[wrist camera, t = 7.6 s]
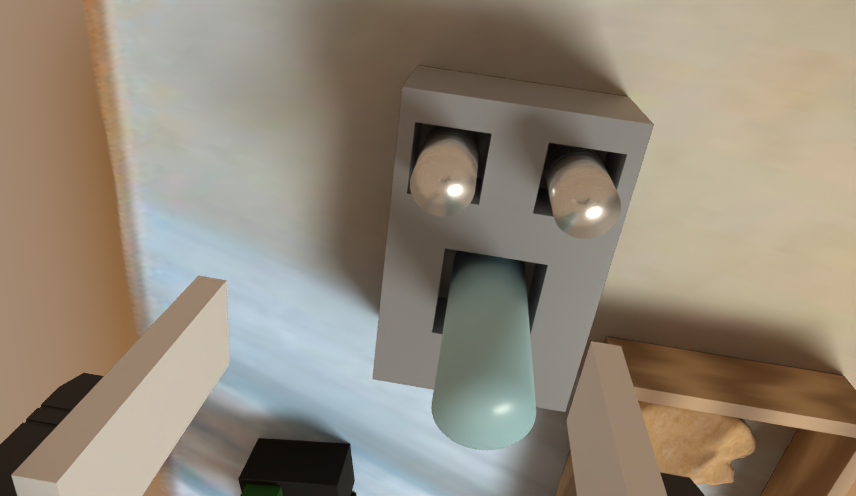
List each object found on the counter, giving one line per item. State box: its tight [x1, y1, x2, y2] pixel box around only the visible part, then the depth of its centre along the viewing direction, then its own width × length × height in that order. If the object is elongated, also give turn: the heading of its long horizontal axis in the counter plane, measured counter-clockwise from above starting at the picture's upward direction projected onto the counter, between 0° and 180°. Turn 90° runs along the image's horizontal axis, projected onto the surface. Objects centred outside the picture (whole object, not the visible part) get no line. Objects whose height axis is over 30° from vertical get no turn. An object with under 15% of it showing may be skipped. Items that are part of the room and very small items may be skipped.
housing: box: [373, 66, 654, 412], centre depth 34 cm, size 12×18×6 cm, turn 173°
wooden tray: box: [555, 337, 856, 496], centre depth 42 cm, size 16×20×5 cm
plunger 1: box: [410, 125, 480, 217], centre depth 29 cm, size 3×3×6 cm
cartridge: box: [432, 250, 536, 450], centre depth 30 cm, size 4×4×13 cm
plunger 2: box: [544, 144, 621, 239], centre depth 29 cm, size 3×3×6 cm
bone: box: [638, 401, 756, 485], centre depth 43 cm, size 10×10×15 cm
